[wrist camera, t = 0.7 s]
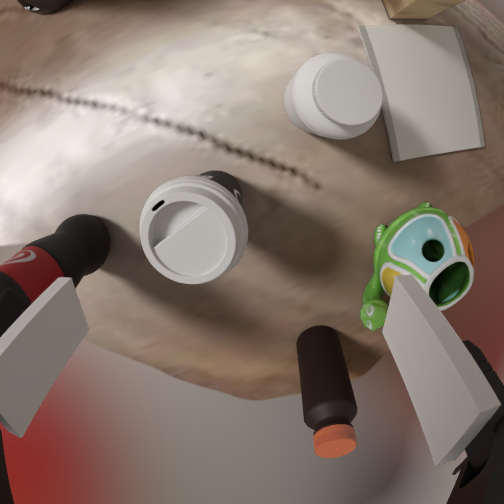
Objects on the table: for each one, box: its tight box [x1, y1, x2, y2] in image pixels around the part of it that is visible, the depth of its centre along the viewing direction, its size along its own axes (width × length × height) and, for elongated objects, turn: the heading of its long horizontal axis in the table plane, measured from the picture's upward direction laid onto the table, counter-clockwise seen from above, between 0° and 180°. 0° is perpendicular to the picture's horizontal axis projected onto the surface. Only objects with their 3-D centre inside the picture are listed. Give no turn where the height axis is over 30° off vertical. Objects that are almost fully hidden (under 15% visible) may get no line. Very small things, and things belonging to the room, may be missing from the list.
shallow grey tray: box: [357, 24, 485, 162], centre depth 29 cm, size 18×16×1 cm
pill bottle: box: [284, 52, 383, 140], centre depth 25 cm, size 8×8×15 cm
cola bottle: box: [0, 214, 110, 337], centre depth 27 cm, size 8×8×30 cm
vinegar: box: [296, 326, 357, 458], centre depth 37 cm, size 7×7×20 cm
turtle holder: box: [360, 202, 474, 331], centre depth 34 cm, size 12×18×12 cm
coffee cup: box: [140, 171, 248, 284], centre depth 31 cm, size 10×10×15 cm
